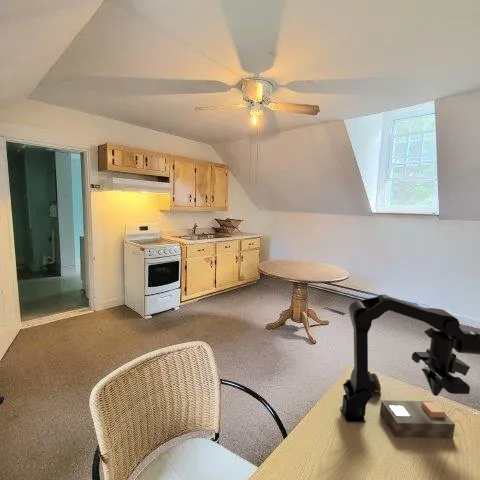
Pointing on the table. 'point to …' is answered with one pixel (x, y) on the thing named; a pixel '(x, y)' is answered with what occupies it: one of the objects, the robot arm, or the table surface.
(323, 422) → the table surface
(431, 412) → the terracotta plug
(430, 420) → the plug panel
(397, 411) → the aluminium plug
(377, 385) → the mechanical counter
